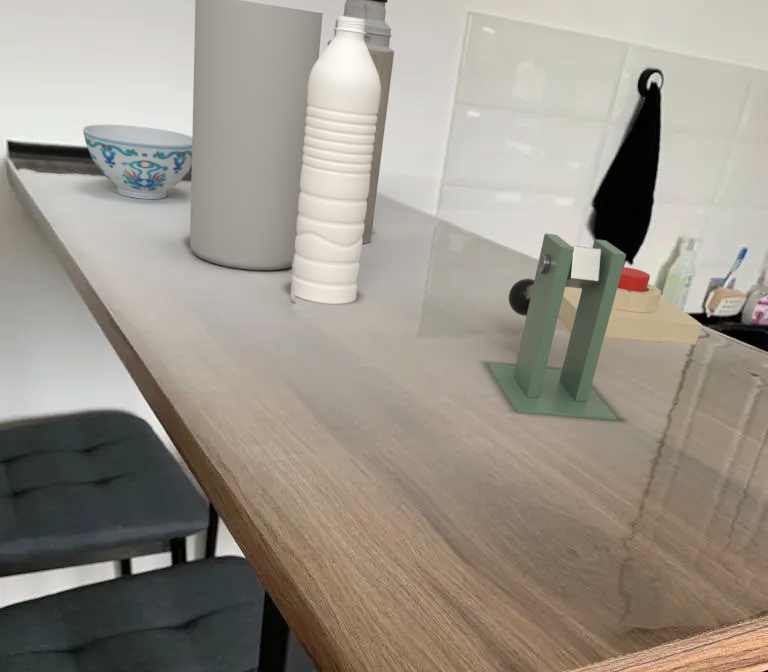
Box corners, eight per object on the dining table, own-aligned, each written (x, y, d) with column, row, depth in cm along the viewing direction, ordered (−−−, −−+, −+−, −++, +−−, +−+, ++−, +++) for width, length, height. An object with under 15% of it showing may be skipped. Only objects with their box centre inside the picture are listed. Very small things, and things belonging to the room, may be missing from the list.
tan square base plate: (651, 321, 97) (664, 277, 95) (692, 355, 88) (708, 307, 85) (541, 310, 95) (552, 264, 93) (572, 343, 86) (584, 293, 83)
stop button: (636, 285, 91) (641, 268, 90) (651, 296, 88) (656, 279, 87) (601, 281, 91) (605, 264, 90) (614, 292, 87) (619, 275, 86)
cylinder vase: (166, 252, 95) (169, -11, 83) (231, 237, 105) (242, 1, 93) (262, 279, 91) (280, 6, 79) (320, 260, 101) (344, 16, 89)
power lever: (502, 316, 78) (505, 280, 78) (536, 320, 79) (539, 284, 78) (563, 283, 63) (567, 239, 63) (604, 287, 64) (608, 244, 64)
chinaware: (180, 211, 114) (181, 148, 110) (67, 194, 114) (64, 131, 110) (208, 193, 127) (210, 137, 123) (107, 177, 127) (106, 121, 123)
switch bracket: (485, 376, 74) (516, 223, 68) (573, 383, 75) (612, 234, 69) (513, 424, 65) (552, 254, 59) (613, 432, 67) (661, 266, 60)
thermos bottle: (317, 226, 117) (339, -13, 103) (374, 235, 117) (404, -3, 103) (304, 237, 110) (327, -17, 97) (365, 247, 110) (396, -6, 96)
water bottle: (354, 316, 84) (390, 23, 71) (287, 308, 83) (312, 11, 71) (355, 292, 91) (387, 23, 79) (293, 284, 91) (316, 12, 78)
